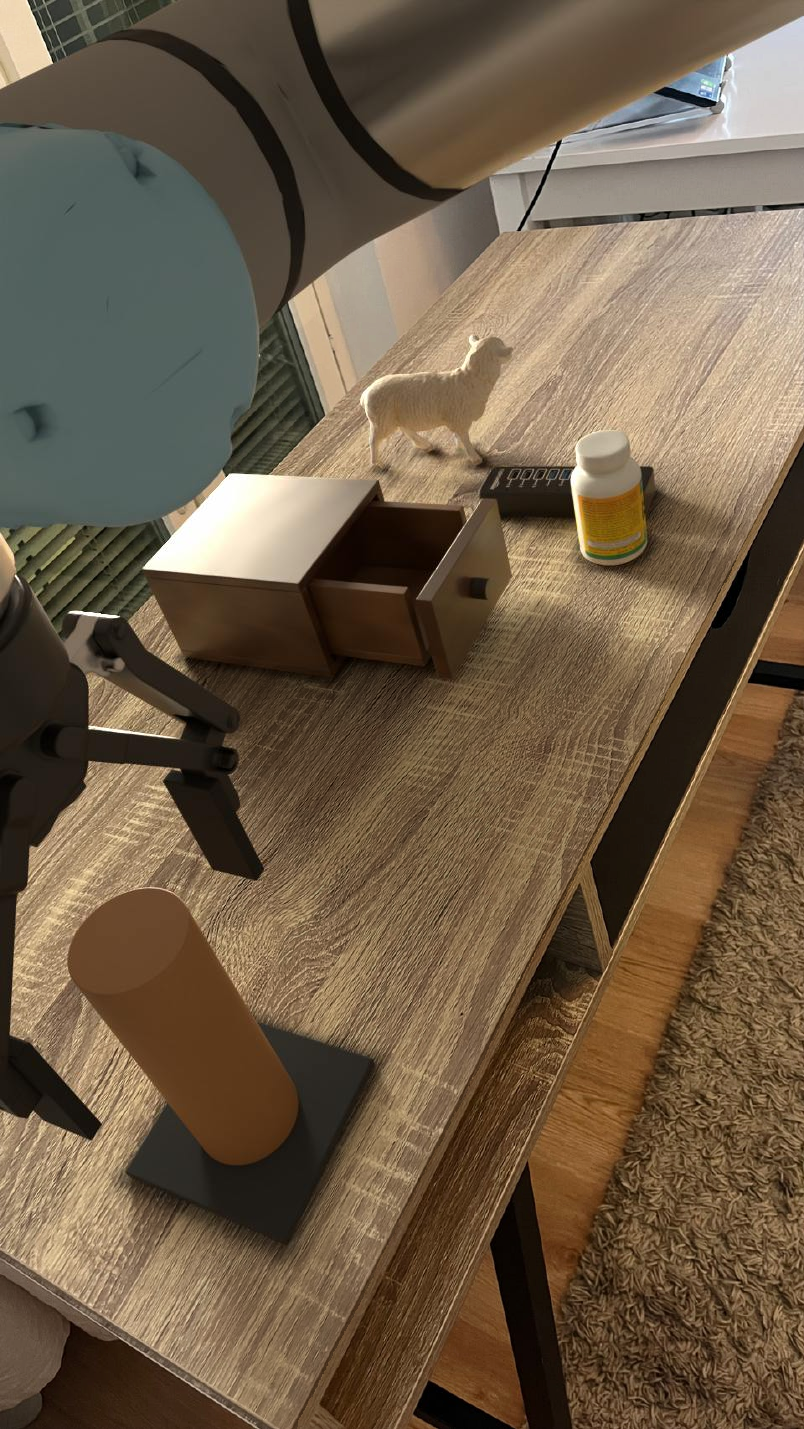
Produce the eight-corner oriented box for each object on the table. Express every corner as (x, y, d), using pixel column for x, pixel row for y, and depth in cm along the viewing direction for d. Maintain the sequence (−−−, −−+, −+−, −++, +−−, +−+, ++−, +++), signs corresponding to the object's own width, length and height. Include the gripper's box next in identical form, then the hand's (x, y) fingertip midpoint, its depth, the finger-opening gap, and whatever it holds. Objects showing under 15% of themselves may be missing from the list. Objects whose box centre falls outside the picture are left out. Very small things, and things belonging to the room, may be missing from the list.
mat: (375, 1063, 58) (372, 1058, 58) (287, 1245, 52) (283, 1240, 52) (226, 1015, 62) (222, 1009, 62) (128, 1177, 56) (124, 1172, 56)
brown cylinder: (317, 1081, 57) (213, 901, 47) (265, 1180, 54) (141, 1010, 43) (232, 1052, 60) (116, 875, 49) (178, 1145, 56) (41, 976, 46)
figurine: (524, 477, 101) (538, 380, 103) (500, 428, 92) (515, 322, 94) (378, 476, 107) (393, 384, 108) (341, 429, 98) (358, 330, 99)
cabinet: (405, 571, 91) (379, 479, 85) (332, 678, 83) (298, 584, 77) (263, 559, 98) (230, 473, 92) (183, 657, 90) (141, 569, 84)
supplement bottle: (570, 543, 88) (554, 440, 82) (629, 521, 89) (618, 416, 83) (598, 576, 84) (583, 470, 78) (660, 552, 85) (650, 445, 78)
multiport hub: (644, 518, 89) (642, 495, 87) (481, 515, 95) (476, 493, 93) (656, 489, 91) (654, 465, 90) (496, 487, 97) (492, 465, 96)
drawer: (526, 577, 85) (511, 499, 80) (467, 682, 78) (447, 602, 73) (365, 564, 92) (343, 491, 87) (297, 659, 84) (268, 585, 79)
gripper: (61, 421, 44) (235, 774, 58) (-500, 903, 29) (-83, 1223, 43) (207, 422, 40) (354, 797, 54) (-342, 970, 25) (55, 1294, 39)
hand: (162, 985), depth 49 cm, fingers open, 13 cm apart
